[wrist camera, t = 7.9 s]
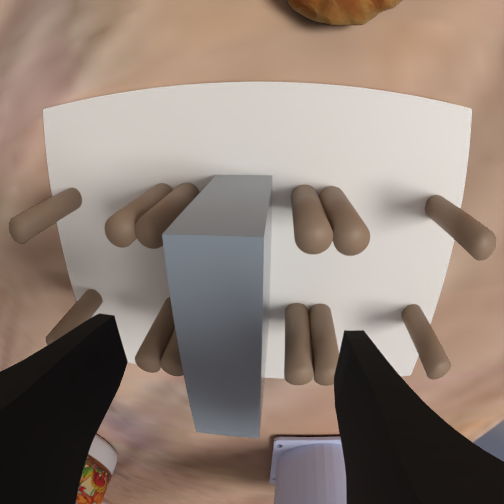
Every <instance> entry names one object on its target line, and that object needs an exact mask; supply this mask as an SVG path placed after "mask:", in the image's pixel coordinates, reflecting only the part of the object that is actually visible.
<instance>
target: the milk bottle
mask: <svg viewBox="0 0 504 504" xmlns="http://www.w3.org/2000/svg"><path fill="white" fill-rule="evenodd" d="M117 460H118V458H117V453H116V451H115V450H114V448H113V447H112V446H111V445H110V444H109V443H108V442H106V441H105V440H104V439H102V438H101V437H100V436H98V435H95V437H94V439H93V442H92V444H91V447H90V450H89V453H88V456H87V459H86V462H85V465H84V469H83V473H82V476H81V480H80V484H79V488H78V493H77V499H76V504H101V502H102V500H103V497H104V495H105V492H106V489H107V487H108V484H109V482H110V479H111V476H112V474H113V471H114V469H115V466H116V463H117Z"/></svg>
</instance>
